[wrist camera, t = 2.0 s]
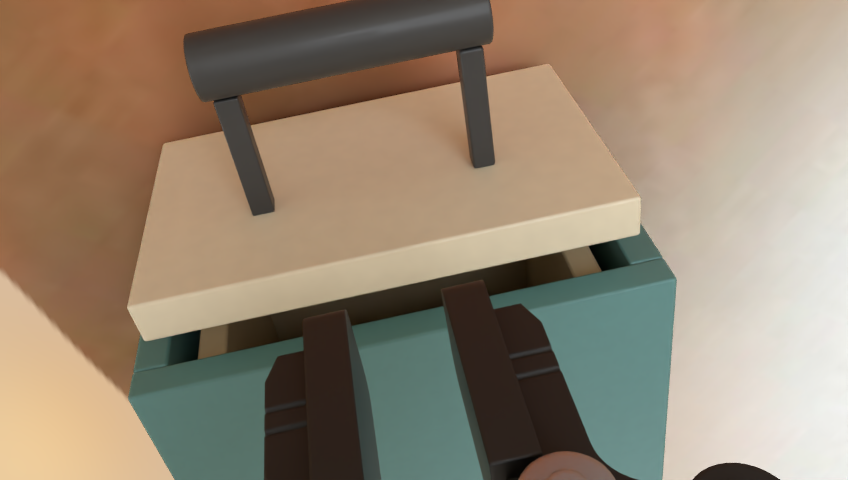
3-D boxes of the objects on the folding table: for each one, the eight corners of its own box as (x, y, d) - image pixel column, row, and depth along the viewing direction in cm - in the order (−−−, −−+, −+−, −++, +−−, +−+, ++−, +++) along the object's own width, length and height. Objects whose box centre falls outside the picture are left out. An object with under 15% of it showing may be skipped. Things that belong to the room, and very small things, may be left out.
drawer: (98, -13, 22) (28, 123, 15) (541, -101, 22) (649, -4, 16) (268, 401, 32) (268, 580, 26) (563, 337, 33) (632, 497, 26)
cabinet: (168, 182, 27) (126, 399, 19) (561, 100, 27) (677, 278, 19) (274, 435, 35) (275, 656, 27) (572, 369, 35) (656, 568, 28)
